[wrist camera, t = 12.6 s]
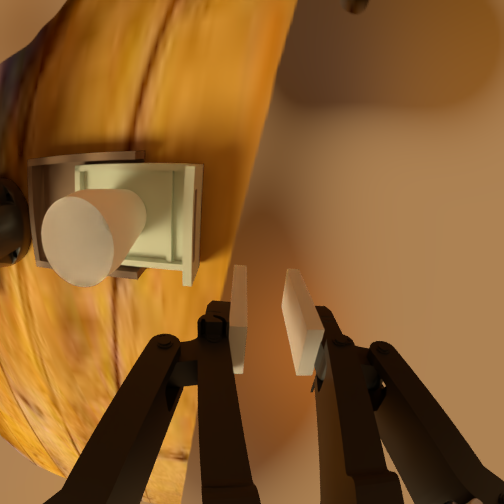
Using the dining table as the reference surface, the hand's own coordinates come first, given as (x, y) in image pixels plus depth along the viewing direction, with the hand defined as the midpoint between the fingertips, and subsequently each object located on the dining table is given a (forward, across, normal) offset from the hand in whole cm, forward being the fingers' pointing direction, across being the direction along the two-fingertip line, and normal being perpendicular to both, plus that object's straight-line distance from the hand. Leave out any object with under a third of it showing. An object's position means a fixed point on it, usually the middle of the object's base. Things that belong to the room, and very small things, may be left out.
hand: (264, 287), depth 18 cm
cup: (+17, -17, 0) cm, 24 cm away
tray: (+18, -15, 0) cm, 23 cm away
